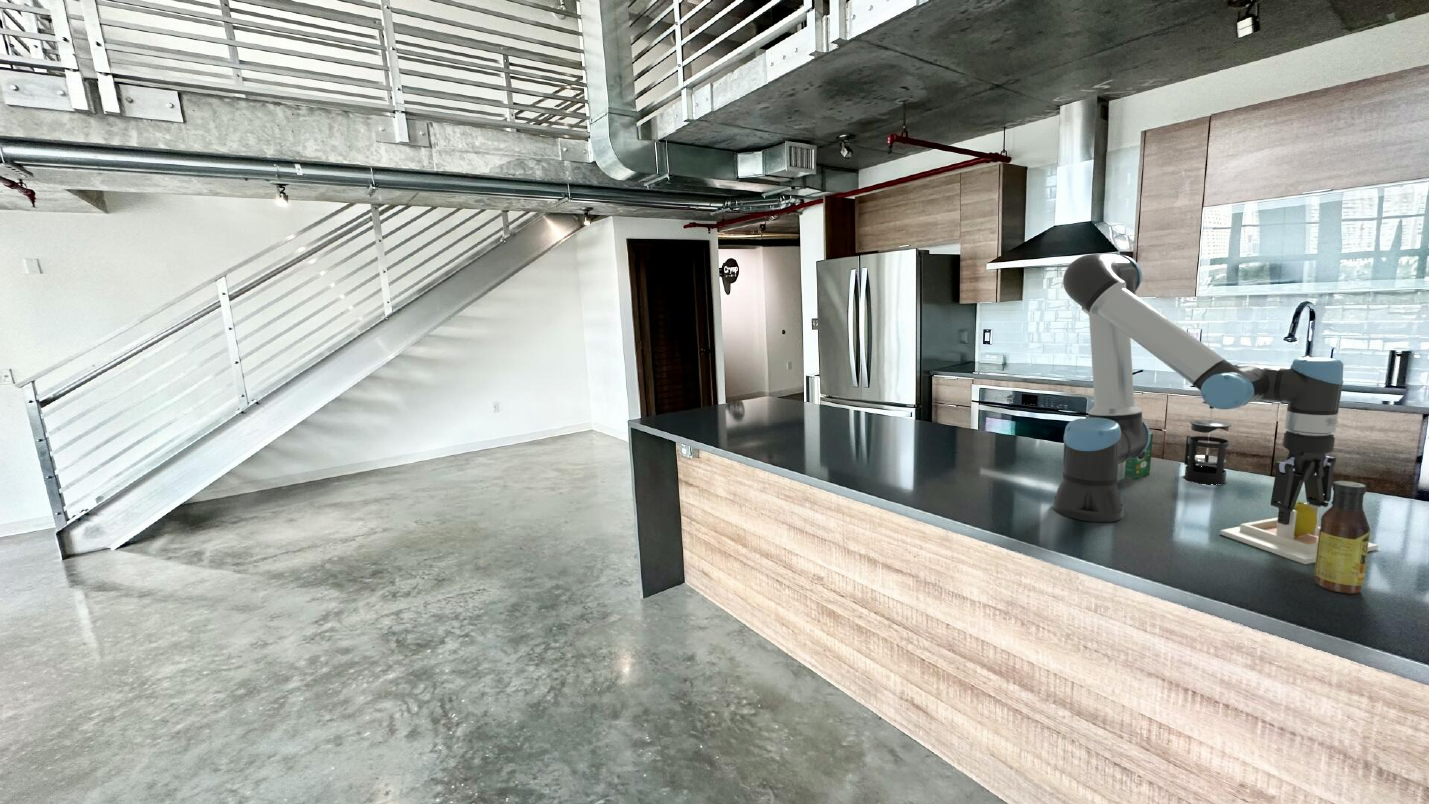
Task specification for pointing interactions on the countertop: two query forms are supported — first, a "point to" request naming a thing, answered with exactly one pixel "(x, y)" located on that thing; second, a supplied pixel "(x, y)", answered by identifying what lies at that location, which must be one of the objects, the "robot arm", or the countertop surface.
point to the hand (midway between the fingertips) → (1296, 535)
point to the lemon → (1304, 519)
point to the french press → (1205, 472)
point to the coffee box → (1139, 464)
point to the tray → (1278, 540)
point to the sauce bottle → (1343, 540)
